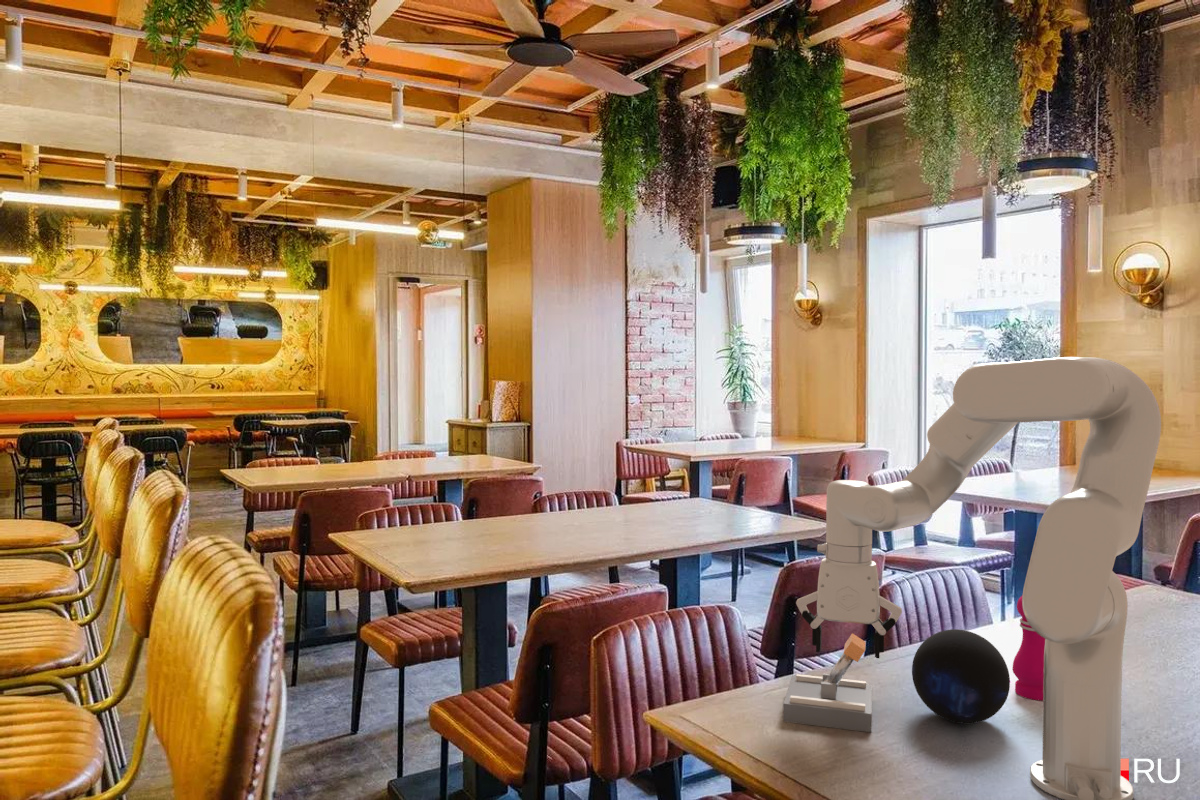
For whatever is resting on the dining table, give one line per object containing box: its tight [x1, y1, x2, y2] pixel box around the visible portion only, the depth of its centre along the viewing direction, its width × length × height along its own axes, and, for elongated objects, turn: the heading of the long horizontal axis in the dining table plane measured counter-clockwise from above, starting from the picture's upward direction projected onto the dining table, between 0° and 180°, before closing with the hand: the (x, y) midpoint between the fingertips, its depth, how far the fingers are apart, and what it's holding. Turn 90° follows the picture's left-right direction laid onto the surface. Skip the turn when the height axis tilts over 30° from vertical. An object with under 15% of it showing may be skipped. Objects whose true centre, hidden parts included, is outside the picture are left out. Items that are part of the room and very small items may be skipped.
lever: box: [824, 632, 866, 685], centre depth 145 cm, size 5×3×10 cm
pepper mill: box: [1012, 594, 1045, 702], centre depth 153 cm, size 7×7×20 cm
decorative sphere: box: [911, 628, 1011, 725], centre depth 142 cm, size 15×15×15 cm
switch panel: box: [782, 672, 873, 733], centre depth 146 cm, size 14×14×6 cm
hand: (847, 652), depth 145 cm, fingers open, 9 cm apart
